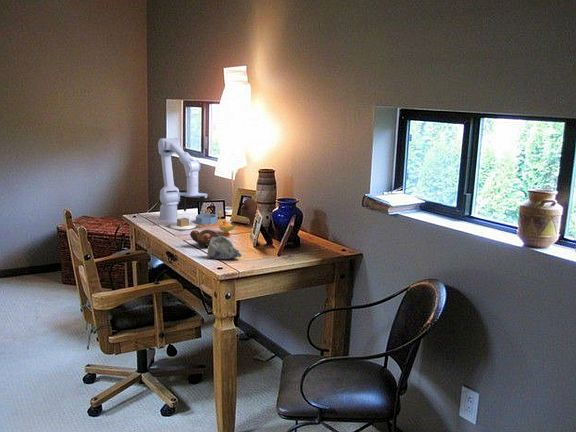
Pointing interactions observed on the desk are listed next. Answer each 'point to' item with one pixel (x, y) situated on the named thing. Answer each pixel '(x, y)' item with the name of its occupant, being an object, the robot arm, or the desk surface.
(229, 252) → the mineral rock
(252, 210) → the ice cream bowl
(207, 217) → the dish
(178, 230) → the mat
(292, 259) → the desk surface
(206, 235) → the decorative turtle
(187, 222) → the lid
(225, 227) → the magic lamp
